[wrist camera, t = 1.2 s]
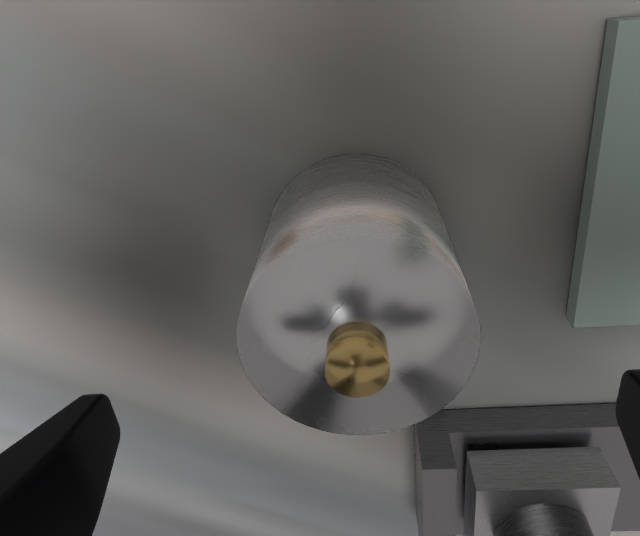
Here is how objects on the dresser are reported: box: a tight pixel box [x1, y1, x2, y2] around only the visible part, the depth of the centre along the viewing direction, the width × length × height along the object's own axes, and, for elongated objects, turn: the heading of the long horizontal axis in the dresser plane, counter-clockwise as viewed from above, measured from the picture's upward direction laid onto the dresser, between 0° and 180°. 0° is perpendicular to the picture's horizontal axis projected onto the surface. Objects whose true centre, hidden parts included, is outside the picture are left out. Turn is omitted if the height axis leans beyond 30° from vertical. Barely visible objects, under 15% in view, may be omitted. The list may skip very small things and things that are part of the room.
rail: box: [414, 403, 640, 536], centre depth 17 cm, size 5×13×2 cm, turn 96°
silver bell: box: [236, 154, 481, 435], centre depth 12 cm, size 5×5×6 cm
